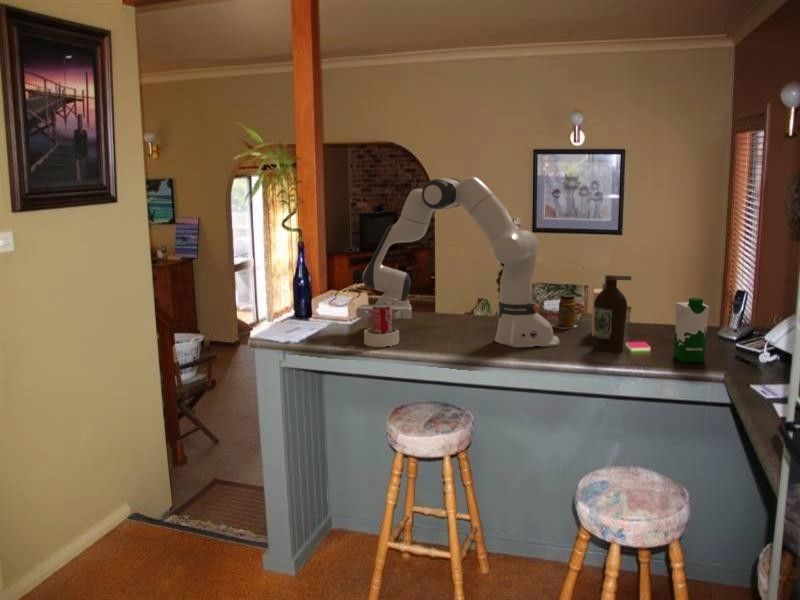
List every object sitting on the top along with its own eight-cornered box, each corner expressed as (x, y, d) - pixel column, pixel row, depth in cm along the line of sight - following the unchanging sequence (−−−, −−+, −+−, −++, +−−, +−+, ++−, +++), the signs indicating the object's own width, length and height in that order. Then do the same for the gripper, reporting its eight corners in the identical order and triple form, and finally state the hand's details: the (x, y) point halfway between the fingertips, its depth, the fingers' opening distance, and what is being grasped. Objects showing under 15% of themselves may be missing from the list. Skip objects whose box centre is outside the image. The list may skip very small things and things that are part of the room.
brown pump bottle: (605, 342, 248) (608, 272, 243) (631, 348, 239) (635, 275, 235) (585, 347, 242) (588, 275, 237) (611, 354, 233) (615, 279, 228)
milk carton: (681, 363, 222) (685, 300, 218) (669, 355, 230) (673, 295, 227) (708, 362, 222) (713, 300, 218) (695, 355, 231) (700, 294, 227)
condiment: (579, 326, 274) (580, 295, 271) (564, 329, 269) (565, 298, 266) (564, 323, 279) (565, 293, 277) (549, 326, 274) (550, 295, 272)
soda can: (389, 344, 246) (388, 307, 243) (369, 343, 248) (368, 306, 245) (394, 339, 253) (394, 303, 250) (375, 338, 255) (375, 303, 252)
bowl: (400, 339, 257) (400, 326, 256) (396, 347, 245) (396, 334, 244) (367, 338, 258) (367, 326, 257) (362, 346, 246) (361, 334, 245)
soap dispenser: (591, 336, 257) (594, 276, 253) (592, 331, 265) (594, 273, 261) (628, 338, 254) (631, 277, 250) (628, 333, 262) (631, 274, 258)
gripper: (358, 299, 264) (352, 307, 251) (413, 300, 262) (409, 307, 249) (359, 316, 266) (352, 324, 252) (413, 317, 263) (409, 325, 250)
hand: (381, 316), depth 250 cm, fingers open, 8 cm apart
